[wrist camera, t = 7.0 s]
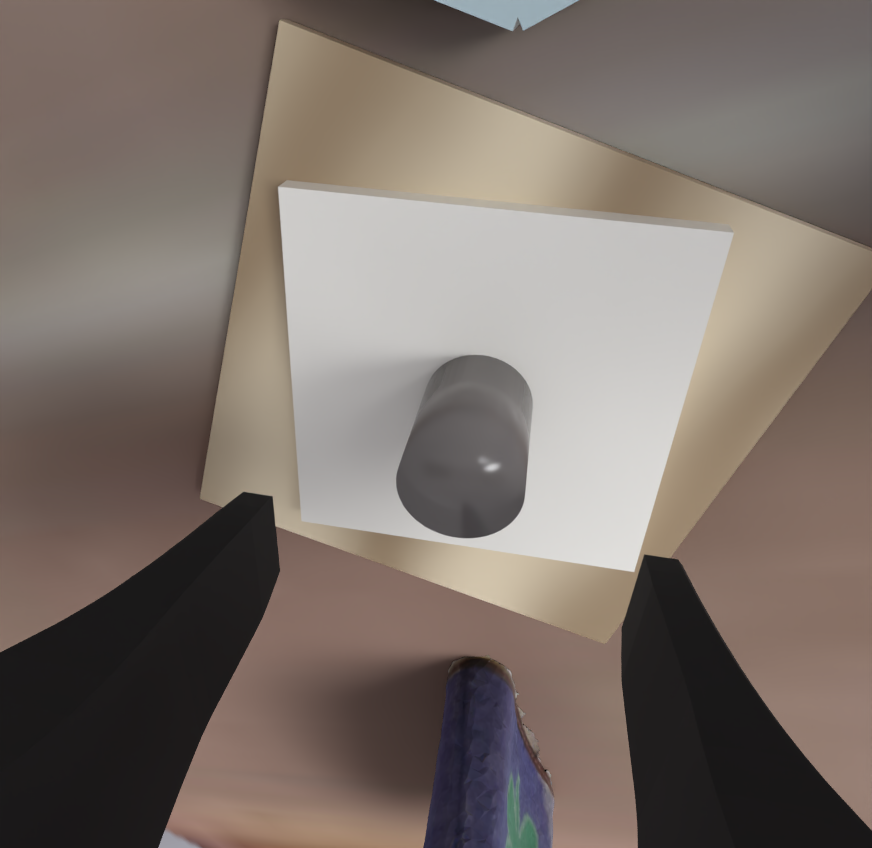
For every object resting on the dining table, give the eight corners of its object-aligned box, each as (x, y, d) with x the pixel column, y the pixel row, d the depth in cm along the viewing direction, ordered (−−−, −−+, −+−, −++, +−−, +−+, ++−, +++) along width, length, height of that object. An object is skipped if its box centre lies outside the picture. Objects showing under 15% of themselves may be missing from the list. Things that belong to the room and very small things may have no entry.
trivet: (887, 254, 15) (893, 260, 15) (604, 634, 23) (605, 643, 23) (286, 19, 15) (279, 20, 14) (204, 491, 23) (199, 498, 22)
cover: (728, 224, 15) (776, 298, 12) (632, 557, 21) (645, 676, 17) (286, 179, 16) (209, 236, 13) (307, 508, 22) (257, 610, 18)
